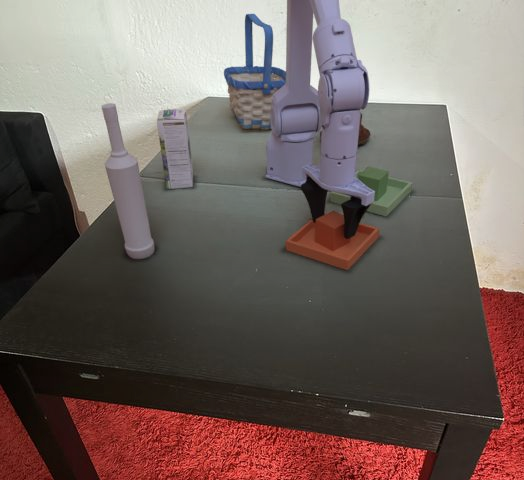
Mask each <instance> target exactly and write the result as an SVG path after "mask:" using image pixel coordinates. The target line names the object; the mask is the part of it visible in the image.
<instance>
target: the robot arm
mask: <svg viewBox="0 0 524 480" xmlns="http://www.w3.org/2000/svg"><path fill="white" fill-rule="evenodd" d="M341 16H342V15H341V9H340V0H286V40H285V41H286V43H285V53H286V55H285V71H286V84H285V85H283V86H282V87H281V88H280V89H279V90H277V91H276V92H275V93H274V94H273V95H272V103H271V109H270V122H271V129H270V130H271V132H272V133H271V134H270V135H269V137H268V140H267V142H266V174H265V176H264V177H265V179H269V180H273V181H277V182H280V183H283V184H288V185H292V186H295V187H299V188H300V190H301V192H302V193H303V195H304V197H305V199H306V202H307V204H308V207H309V211H310V215H311V219H312V220H313V222H314V223H316V219H317V218H319V217H321V216H323V215H324V213H326V204H327V203H326V201H327V195H328V191H329V192H332V191H334V192H339V193H343V194H345V195H347V196H350V197H351V198H350V200H348V201H346V202H344V203H341V204H340V207H341V209H342V213H343V214H342V215H344V237H345V238H346V239H349V238H351V237H353V236H355V234H356V231H357V228H358V226H359V223H361V221H362V219H363V217H364V215H365V213H366V212H368V211H367V209H368V208H369V206H370V205H371V204H372V203H373V202H374V196H375V191H374V190H372V189H370V188H368V187H367V186H366V185H364V184H363V183H362V182H361V181H360V180H358V179H357V178H356V176H357V173H356V168H357V155H358V146H359V145H358V136H359V125H360V114H362V111H361V110H365V109H366V108H367V106H368V102H369V98H370V79H369V78H370V77H369V73H368V69H367V68H366V66H365V65H364V64H363V62H362V60H361V59H358V58H357V52H356V48H355V42H354V39H353V33H352V29H351V24H350V23H349V22H348V20H346V19H344V18H341ZM314 20H315V24H316V28H315V29H314ZM313 29H314V30H313ZM313 48H314V53H315V58H316V64H317V68H318V69H317V70H318V74H319V79H318V84H317V88H315V87H314V86H313V85H312V84H311V77H312V76H311V75H312V56H313V55H312V53H313ZM321 130H322V135H320V138H321V139H320V160H319V166H318V165H314V164H313V163H314V162H313V158H314V139H315V138H316V137H317V133H319V132H321Z"/></svg>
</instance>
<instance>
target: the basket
mask: <svg viewBox="0 0 524 480" xmlns="http://www.w3.org/2000/svg"><path fill="white" fill-rule="evenodd" d="M253 24H254V25H256V26H258V27H260V28H262V29H263V32H264V33H263V34H264V50H263V51H264V53H263V66H259V65H255V66H254V49H253V48H254V45H253V44H254V43H253V41H254V37H253ZM244 47H245V48H244V49H245V54H244V55H245V65H243V66H230V67H226V68H224V70H223V76H224V80H225V82H226V85H227V94H229V95H228V96H229V97H228V99H229V102H230V103H229V106H230V109H231V113H232V114H233V115H234V117H236V121H237V123H238V124H240V125H241V127H242V129H243V130H249V129H260V130H263V131H264V130H265V131H268V130H272V129H271V122H270V109H271V103H272V95H273V94H274V93H275V92H276V91H277V90H279V89H280V88H281V87H282V86H283V85H285V84H286V70H284V69H282V68H280V67H276V66H273V50H274V31H273V27H272V25H271V24H268V23H265V22H263V21H262V20H261V19H260V18H259V17H258V16H257V15H256V14H255V13H246V14H245V16H244Z"/></svg>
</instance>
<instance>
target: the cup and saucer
mask: <svg viewBox="0 0 524 480" xmlns="http://www.w3.org/2000/svg"><path fill="white" fill-rule="evenodd" d="M362 121H363V114H362V113H361V114H360V125H359V136H358V146H359V145H362V144H364V143H366V141H368V140H369V139H370V137H371V132H370V130H369V129H368V128H366V127H365V126H364V125H363V124H362ZM319 132H320V133H319V135H320V136H321V135H322V129H320V131H319Z"/></svg>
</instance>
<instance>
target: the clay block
mask: <svg viewBox="0 0 524 480" xmlns="http://www.w3.org/2000/svg"><path fill="white" fill-rule="evenodd" d="M326 213H327V214H325V215H323V216H321V217H319V218H317V219H316V227H315V242H317V243H318V244H320V245H322V246H324V247H326V248H328V249H330V250H332V251H335V250H336V249H338V248H340V247H342V246H344V245H346V244H348V243H349V242H350V241H351V238H349V239H346V238H345V237H344V214H342V213H340V212H338V211H336V210H332V211H329V212H326Z"/></svg>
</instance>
